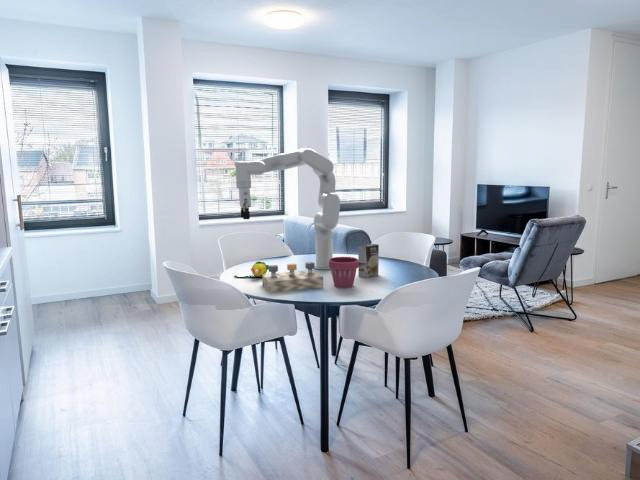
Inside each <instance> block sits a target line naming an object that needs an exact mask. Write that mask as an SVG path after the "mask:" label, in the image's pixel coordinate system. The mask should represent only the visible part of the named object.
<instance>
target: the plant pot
mask: <svg viewBox="0 0 640 480" xmlns="http://www.w3.org/2000/svg"><path fill="white" fill-rule="evenodd" d="M358 267H359V262H358V257H357V258H356V257H352V256H335V257H333V258H330V259H329V268H331V269H330V273H331V277H332V280H333V281H332V282H333V285H334V287H336V288H338V289H339V288H340V289H348V288H352V287H354V283H355V280H356V274H357V270H358Z"/></svg>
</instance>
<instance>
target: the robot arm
mask: <svg viewBox="0 0 640 480" xmlns="http://www.w3.org/2000/svg"><path fill="white" fill-rule="evenodd" d="M305 165H307V166H308V167H310V168H311V169H312V171H313V172H314V173H315V174H316V175H317V177H318V178H319V192H318V199H317V205H318V206H319V207H320V208H321V209H322V211H318V212H317V213H316V214H315V215H314V217H313V225H314V226H313V227H314V235H315V236H314V238H315V268H314V269H315V270H323V271H324V270H331V268H329V259H330V258H334V257H333V256H334V253H333V250H334V249H333V248H334V247H333V230H334V229H335V228H337V226H338V224H339V219H340V218H339V217H340V211H341V199H340V196H339V195H338V194H336V177H335V174H334V167H335V166H334V163H333V161H331V160H330V158H328V157H326V156H324V155H322V154H321V153H319V152H317V151H316V150H314V149H312V148H308V147H307V148H305V147H304V148H300V149H296V150H291V151H288V152H287V151H286V152H284V153H279V154H276V155H273V156H270V157H264V158H261V159H256V160H253V161H247V160H246V161H245V160H243V161H236V162H235V181H236V183H235V184H236V185H235V186H236V189H238V194H239V195H238V197H239V206H240V218H241V219H243V220H250V219H251V218H250V208H251V207H252V201H251V199H252V198H251V191H250V190H251V189H252V177H251V175H253V176H261V175H264V174H265V173H270V172H275V171H284V170H289V169H293V168H297V167H301V166H305Z"/></svg>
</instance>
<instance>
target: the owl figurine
mask: <svg viewBox="0 0 640 480" xmlns="http://www.w3.org/2000/svg"><path fill="white" fill-rule="evenodd" d="M269 266H270V264H266V263H265V262H264V261H256V262H255V263H254V264H253V265H252V266H251V268H250V272H251V273H252V274H253V275H254V276H252V275H247V276H248V277H247V278H262V274H267V272H268V271H269ZM235 276H236V277H237V276H238V275H235ZM250 276H251V277H250Z"/></svg>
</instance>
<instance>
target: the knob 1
mask: <svg viewBox="0 0 640 480" xmlns="http://www.w3.org/2000/svg"><path fill="white" fill-rule="evenodd" d="M268 267H269V270H268V272H269V273H270V274H271V278H276V273H278V271H279V265H278V264H272V265H270V264H269V266H268Z"/></svg>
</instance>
